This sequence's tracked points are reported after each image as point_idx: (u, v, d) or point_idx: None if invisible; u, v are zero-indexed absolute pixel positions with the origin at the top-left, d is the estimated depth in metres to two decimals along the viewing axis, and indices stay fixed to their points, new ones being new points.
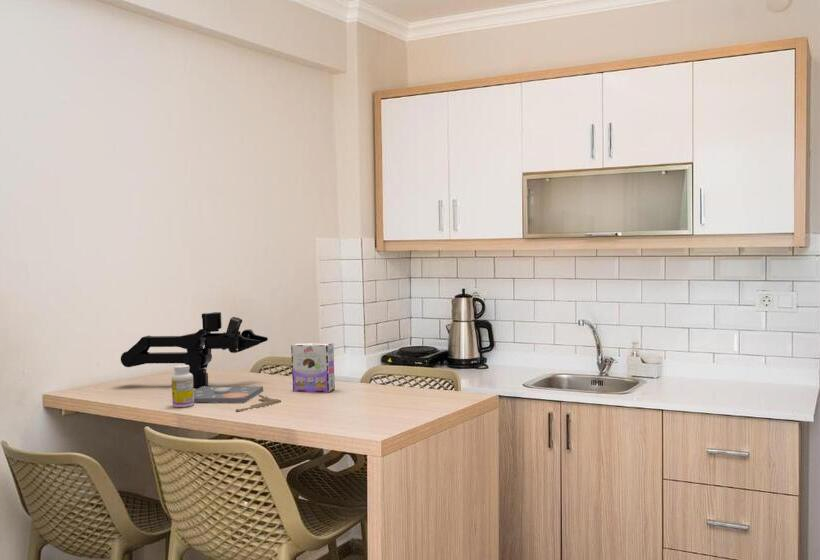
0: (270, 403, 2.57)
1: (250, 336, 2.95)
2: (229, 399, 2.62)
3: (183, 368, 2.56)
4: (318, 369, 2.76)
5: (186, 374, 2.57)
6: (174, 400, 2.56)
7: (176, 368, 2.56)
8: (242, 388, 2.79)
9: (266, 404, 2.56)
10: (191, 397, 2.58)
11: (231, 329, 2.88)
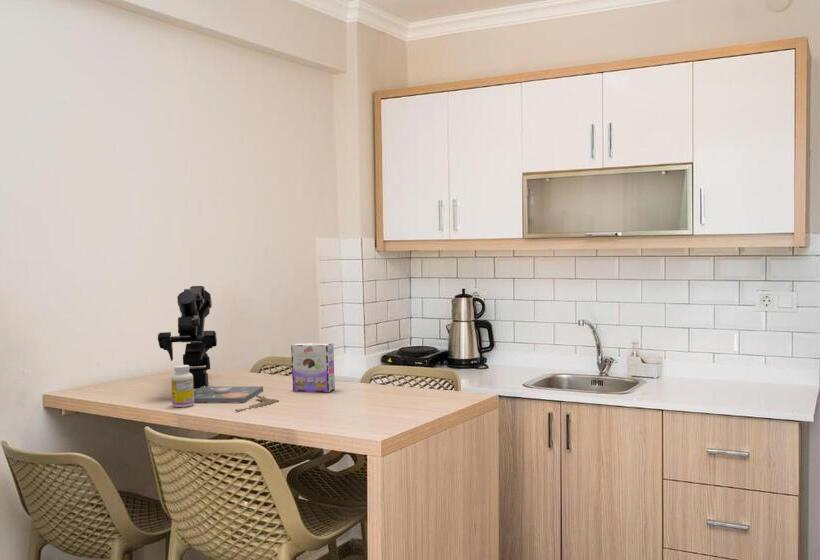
0: (268, 403, 2.58)
1: None
2: (229, 399, 2.62)
3: (183, 368, 2.56)
4: (318, 369, 2.76)
5: (186, 374, 2.57)
6: (174, 400, 2.56)
7: (176, 368, 2.56)
8: (242, 388, 2.79)
9: (265, 404, 2.56)
10: (191, 397, 2.58)
11: None
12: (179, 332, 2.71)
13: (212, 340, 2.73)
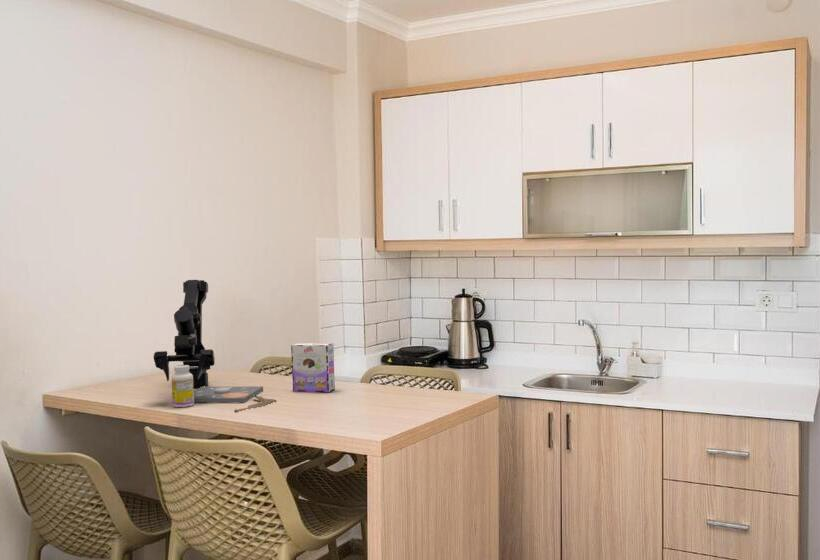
0: (267, 403, 2.58)
1: None
2: (229, 399, 2.62)
3: (183, 368, 2.56)
4: (318, 369, 2.76)
5: (186, 374, 2.57)
6: (174, 400, 2.56)
7: (176, 368, 2.56)
8: (242, 388, 2.79)
9: (263, 404, 2.56)
10: (191, 397, 2.58)
11: None
12: (176, 351, 2.63)
13: (210, 359, 2.65)
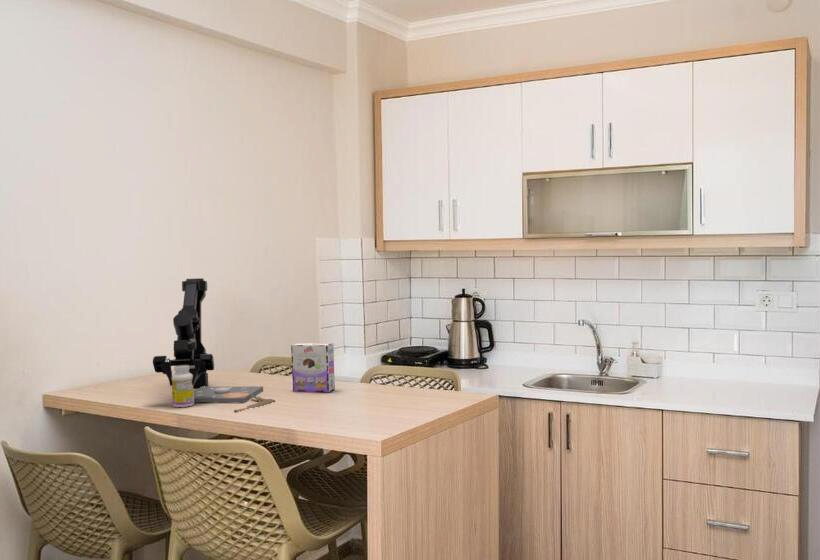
0: (266, 403, 2.58)
1: None
2: (229, 399, 2.62)
3: (183, 368, 2.56)
4: (318, 369, 2.76)
5: (186, 374, 2.57)
6: (174, 400, 2.56)
7: (176, 368, 2.56)
8: (242, 388, 2.79)
9: (262, 404, 2.56)
10: (191, 397, 2.58)
11: None
12: (175, 356, 2.61)
13: (205, 364, 2.64)
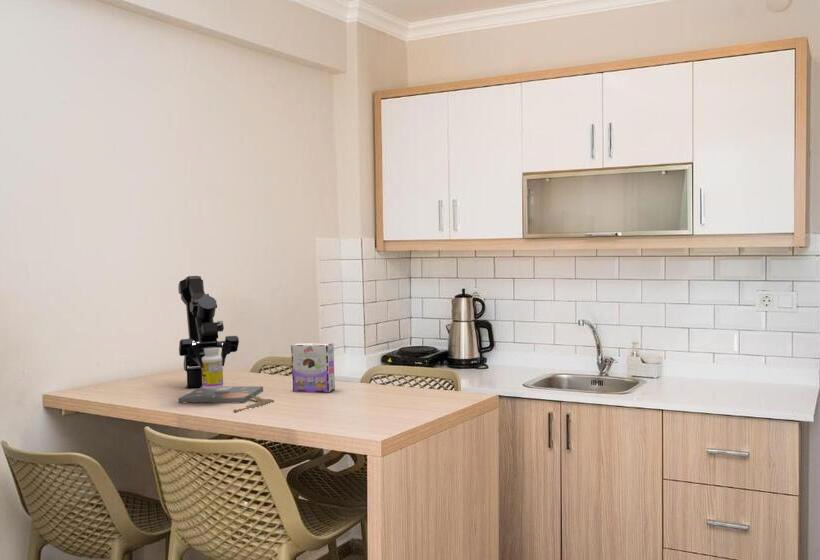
0: (265, 403, 2.58)
1: (222, 347, 2.65)
2: (229, 399, 2.62)
3: (215, 350, 2.60)
4: (318, 369, 2.76)
5: (217, 356, 2.60)
6: (206, 382, 2.59)
7: (207, 350, 2.59)
8: (242, 388, 2.79)
9: (261, 404, 2.56)
10: (222, 378, 2.61)
11: (201, 331, 2.63)
12: (201, 338, 2.64)
13: None
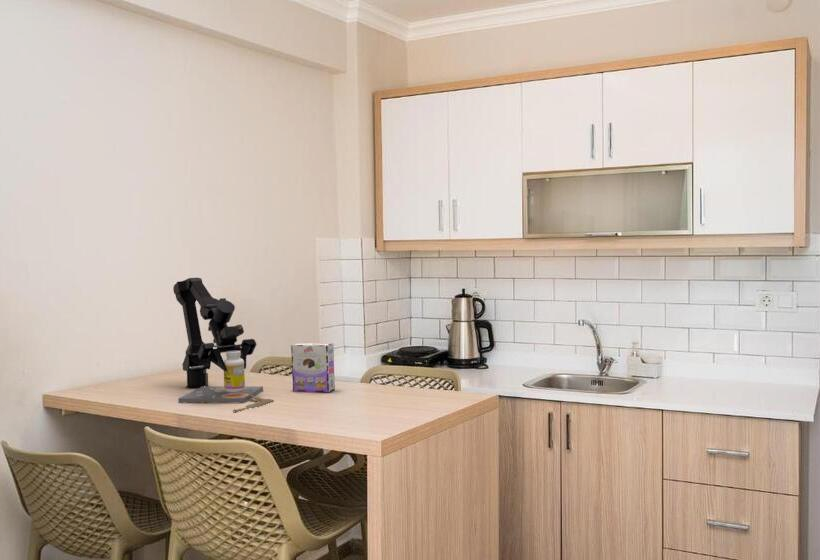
0: (264, 403, 2.58)
1: (241, 350, 2.70)
2: (229, 399, 2.62)
3: (238, 353, 2.64)
4: (318, 369, 2.76)
5: (240, 359, 2.65)
6: (230, 385, 2.63)
7: (231, 353, 2.63)
8: None
9: (261, 404, 2.56)
10: (244, 380, 2.66)
11: (221, 335, 2.66)
12: (221, 342, 2.67)
13: None
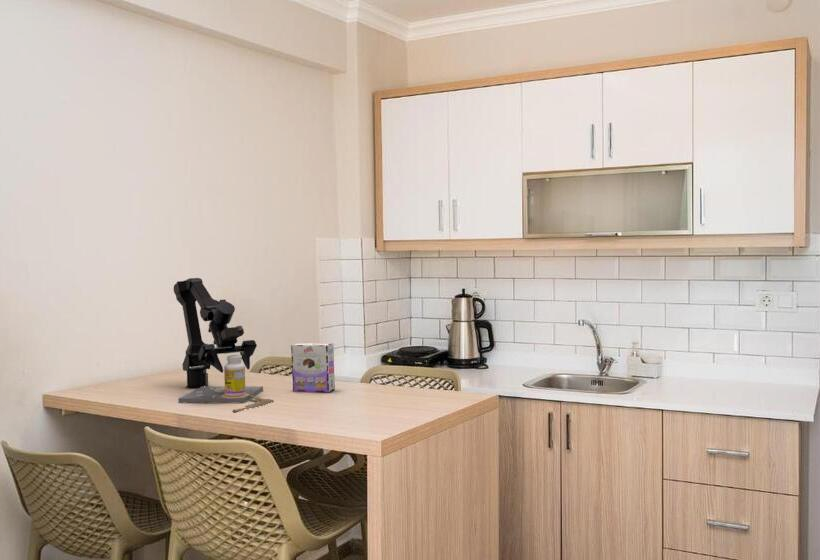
0: (264, 403, 2.58)
1: (244, 351, 2.71)
2: (229, 399, 2.62)
3: (239, 358, 2.64)
4: (318, 369, 2.76)
5: (241, 363, 2.65)
6: (231, 389, 2.63)
7: (232, 358, 2.63)
8: None
9: (261, 404, 2.56)
10: None
11: (221, 336, 2.66)
12: (221, 343, 2.67)
13: None
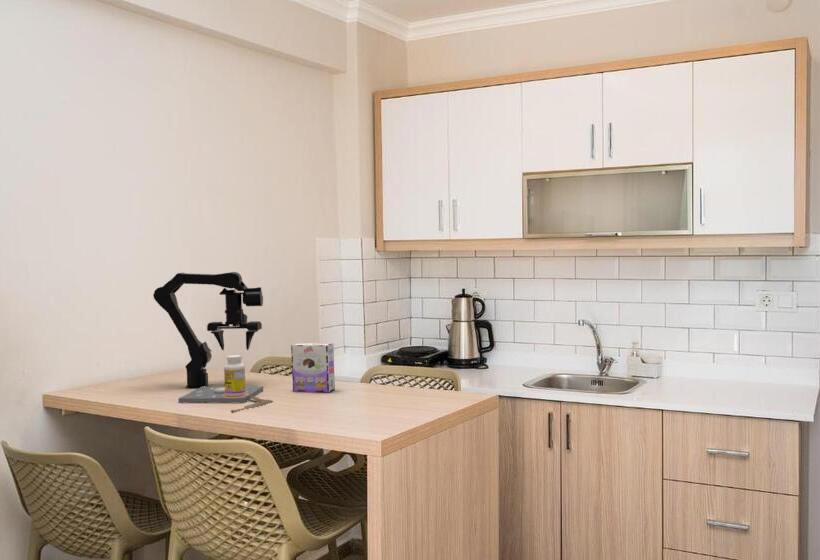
0: (263, 404, 2.57)
1: (221, 331, 2.94)
2: (229, 399, 2.62)
3: (239, 358, 2.64)
4: (318, 369, 2.76)
5: (241, 363, 2.65)
6: (231, 389, 2.63)
7: (232, 358, 2.63)
8: None
9: (260, 405, 2.56)
10: None
11: (244, 318, 2.96)
12: (243, 322, 2.95)
13: None
